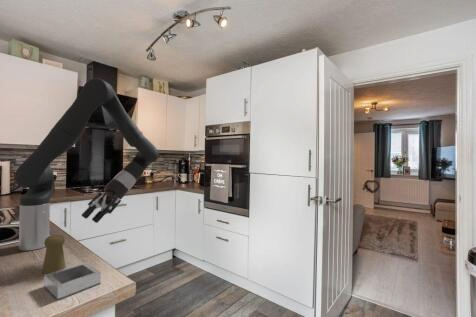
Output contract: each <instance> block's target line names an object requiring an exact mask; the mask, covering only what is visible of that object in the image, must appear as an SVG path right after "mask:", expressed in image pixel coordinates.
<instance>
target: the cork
mask: <svg viewBox="0 0 476 317" xmlns="http://www.w3.org/2000/svg"><path fill="white" fill-rule="evenodd" d="M65 240H66V238H65V237H64V235H62V234H54V235H49V237H47V238H46V239H45V242H44V244H45V247H46V249H45V255H44V260H43V264H42V272H41V273H42V274H43V275H46V274H49V273H52V272H55V271H59V270H62V269H65V268H67V266H66V260H65V253H64V246H63V245H64V243H65ZM45 247H44V248H45Z"/></svg>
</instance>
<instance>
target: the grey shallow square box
mask: <svg viewBox="0 0 476 317" xmlns="http://www.w3.org/2000/svg"><path fill="white" fill-rule="evenodd" d="M101 275H102V272H101V271H100V270H98V269H97V268H95V267H94V266H92V265H90V264H88V263H87V262H82V263H78V264H75V265H72V266H69V267H68V266H67V267H66V268H65V269H62V270H59V271H55V272H52V273H49V274H43V276H44V279H43V280H44V283H43V287H44V289H46V290H47V292H49V293H50V295H51V296H52V297H53V298H55V300H56V301H57V302H58V301H60V300H63V299H66V298H69V297H70V296H73V295H75V294H78V293H81V292H83V291H86V290H88V289H91V288H93V287H96V286H99V285H101V280H102V279H101Z"/></svg>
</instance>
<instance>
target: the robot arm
mask: <svg viewBox="0 0 476 317" xmlns="http://www.w3.org/2000/svg"><path fill="white" fill-rule="evenodd" d="M99 106H101V107H102V108H103V109H104V110H106V112H107V113H108V114H109V116H110V117H111V119H112V120H113V122H114V124H115V127H116V128H117V130H118V132H119V133H120V135H121V136H122V137H123V139H124V140H125V142H126V143H127V144H128V145H129V146H130V147H132V148H135V150H137V151H138V153H136V155H135V156H134V157H133V159H132V160H131V161H130V162H129V163H128V164H127V165H125V166H124V168H123V169H122V170H121V171H119V172H118V173H117V174H116V175H115V176H114V177H113V178H112V179H111V180H110V181H109V182H108V183H107V184H106V185H105V187H104V190H105V192H104V193H102V192H98V194H96V196H94V197H93V198H92V199H91V200H90V201H89V202H88V203H87V205H88V207H87V208H86V210H84V211H83V213H82V214H81V217H82V218H84V219H86V220H87V219H88V218H89V217H90V216H91V215H92V214H93V213H94V212H95V211H96V210H98V209H100V210H98V212H96V213H95V215H94V216H93V217H92V218H91V220H92V222H94V223H97V224H98V223H99V222H100V221H101V220H102V219H103V217H104V216H105V215H107V214H109V215H110V214H112V213H113V211H114V210H115V209H116V208H117V206H118V205H119V204H120V203H121V202H122V199H123V198H124V197H125V195H126V194H127V193H128V192H129V191H130V190H131V189H132V188H133V187H134V185H135V184H136V183H137V181H138V180H139V179H140V178H141V177H142V176H143V174H144V171H145V170H146V169H147V167H149V166H150V165H151V164H152V163H154V162H156V161H157V160H158V159H159V156H160V154H159V151H158V149H157V147H156V146H155V145H154V144H153V143H152V142H151V140H149V139H148V138H146V136H144V134H143V133H142V131H141V130H140V129H139V127H138V126H137V125H136V123H135V122H134V121H133V119H132V118H131V117H130V115H129V114H128V113H127V112H126V110H125V108H124V106H123V105H122V103H121V101H120V100H119V98H118V96H117V94H116V91H115V90H114V87H113V86H112V85H111V84H110V83H109V82H107V81H105V80H104V79H101V78H98V77H97V78H96V77H94V78H91V79H89V80H88V81H86V82H85V83H84V85H83V86H82V88H81V90H80V91H79V93H78V95H77V96H76V97H75V99H74V101H73V103H72V104H71V105H70V106H69V107H68V109H67V110H66V111H65V112H64V114H62V116H61V118H59V120H58V121H57V122H56V123H55V124H54V126H53V127H52V128H51V130H50V131H49V132H48V134H47V135H46V136H45V138H44V139H43V140H42V141H41V143H39V145H38V146H37V147H36V149H35V150H34V151H33V152H32V153H31V154H30V155H29V156H28V157H27V158H26V159H25V160H24V161H23V162H22V163H21V164H20V165H19V166H18V167H17V169H16V171H15V172H14V175H13V177H14V180H13V181H14V182H15V184H16V185H17V186H19V187H21V188H28V190H27V192H26V193H25V194H24V195H22V196H21V197H20V198H19V220H18V221H19V229H18V235H19V236H18V249H19V251H23V252H24V251H27V252H28V251H35V250H39V249H42V248H45V244H44V242H45V239H46V238H47V237H49V236H50V225H51V224H50V222H51V220H50V218H51V216H50V214H51V212H50V211H51V208H50V206H51V198H52V195H53V191H54V190H53V189H54V182H55V181H54V178H55V176H54V170H53V169H52V167H51V166H50V165H51V164H52V162H53V161H55V160H56V159H57V158H58V157H60V156H62V155H64V153H65V152H67V151H69V150H70V149H71V148H72V147H74V146H75V144H77V142H78V141H79V140H80V138H81V137H82V135H83V134H84V132H85V130H86V128H87V125H88V122H89V120H90V119H91V118H90V117H91V115H92V114H93V113H94V111H96V109H97V108H98V107H99Z"/></svg>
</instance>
